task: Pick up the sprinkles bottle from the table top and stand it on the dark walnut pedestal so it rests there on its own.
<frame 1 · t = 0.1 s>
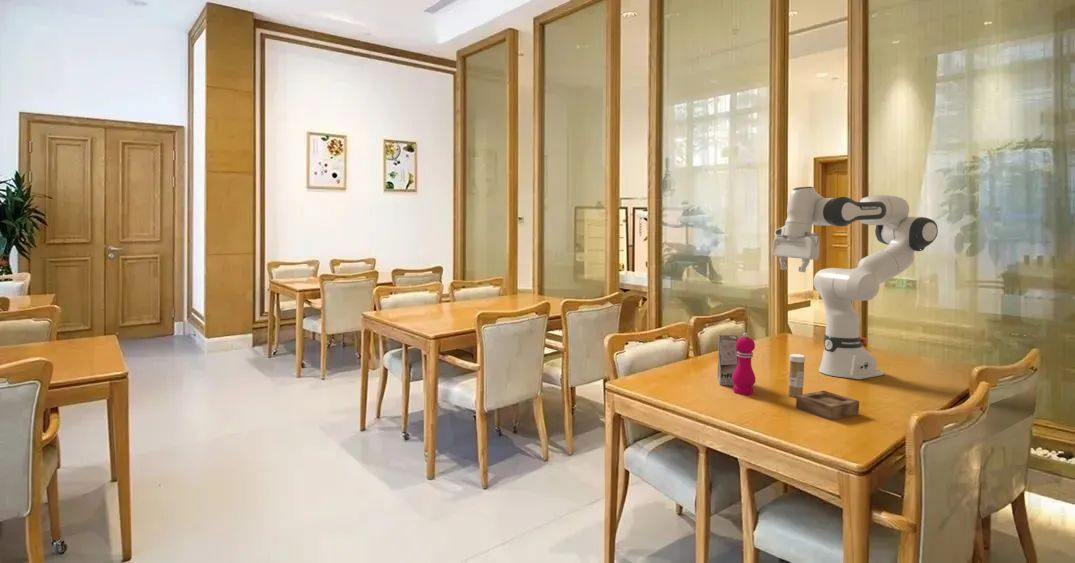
hand: (792, 270, 214), 39 cm above the table, tool pointing down, fingers open, 8 cm apart
coffee box: (727, 382, 211), on the table
pepper mill: (743, 392, 199), on the table
sprinkles bottle: (795, 396, 195), on the table
walnut pedestal: (826, 411, 179), on the table
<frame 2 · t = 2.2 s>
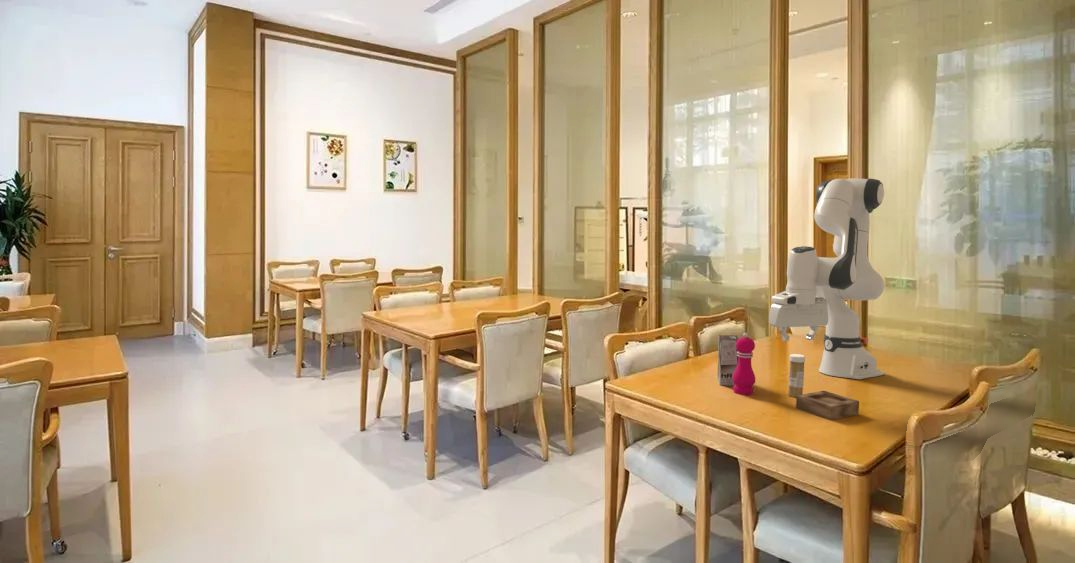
hand: (797, 340, 193), 18 cm above the table, tool pointing down, fingers open, 8 cm apart
nothing on the table moved.
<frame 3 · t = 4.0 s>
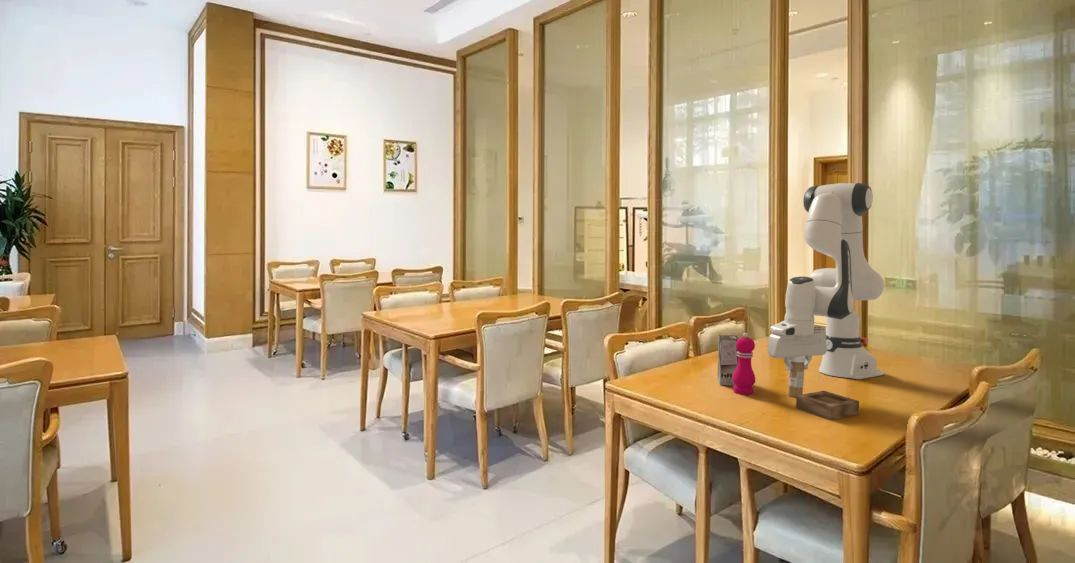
hand: (796, 369, 194), 9 cm above the table, tool pointing down, fingers closed on sprinkles bottle, 4 cm apart
sprinkles bottle: (795, 396, 195), on the table, touching gripper
everything else where it was.
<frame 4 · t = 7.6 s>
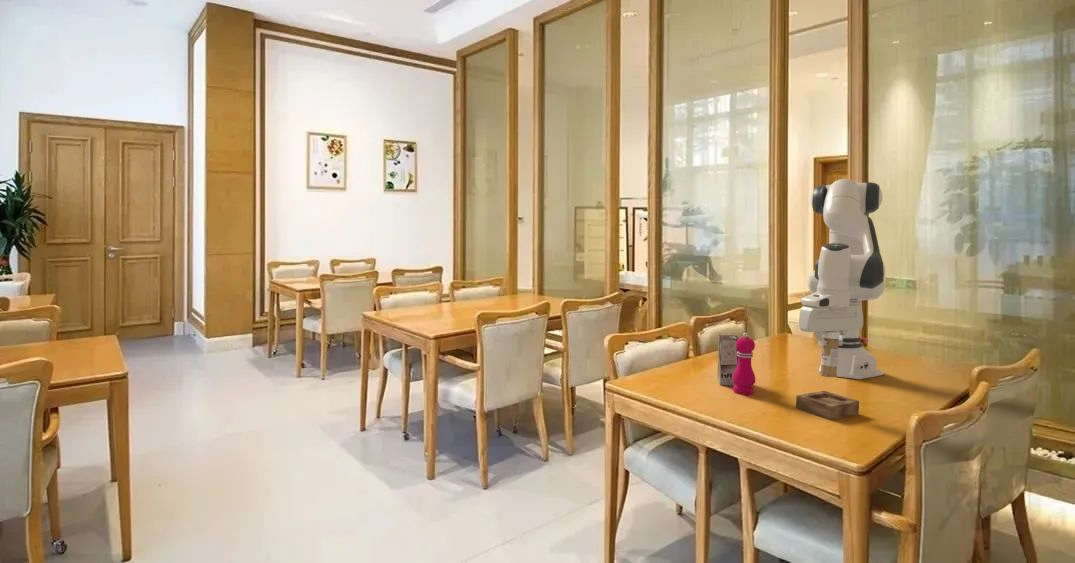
hand: (830, 345, 177), 20 cm above the table, tool pointing down, fingers closed on sprinkles bottle, 4 cm apart
sprinkles bottle: (828, 376, 178), point 11 cm above the table, touching gripper
everything else where it was.
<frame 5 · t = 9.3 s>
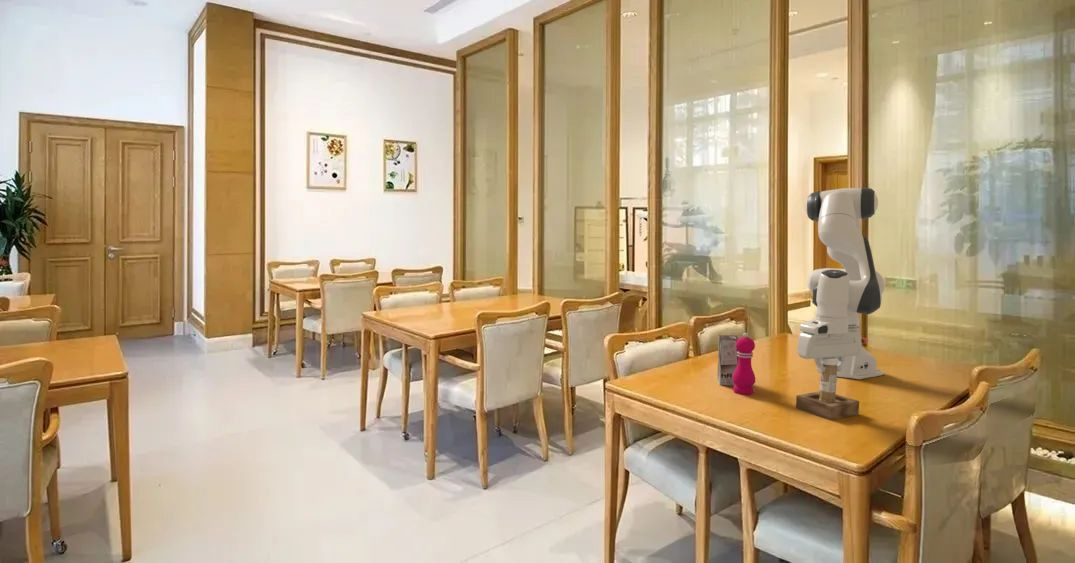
hand: (828, 371, 178), 12 cm above the table, tool pointing down, fingers closed on sprinkles bottle, 4 cm apart
sprinkles bottle: (827, 402, 179), point 3 cm above the table, touching gripper, walnut pedestal
everything else where it was.
when the fingers open (12 cm above the table, at t = 9.9 s): sprinkles bottle stays where it is, resting on walnut pedestal.
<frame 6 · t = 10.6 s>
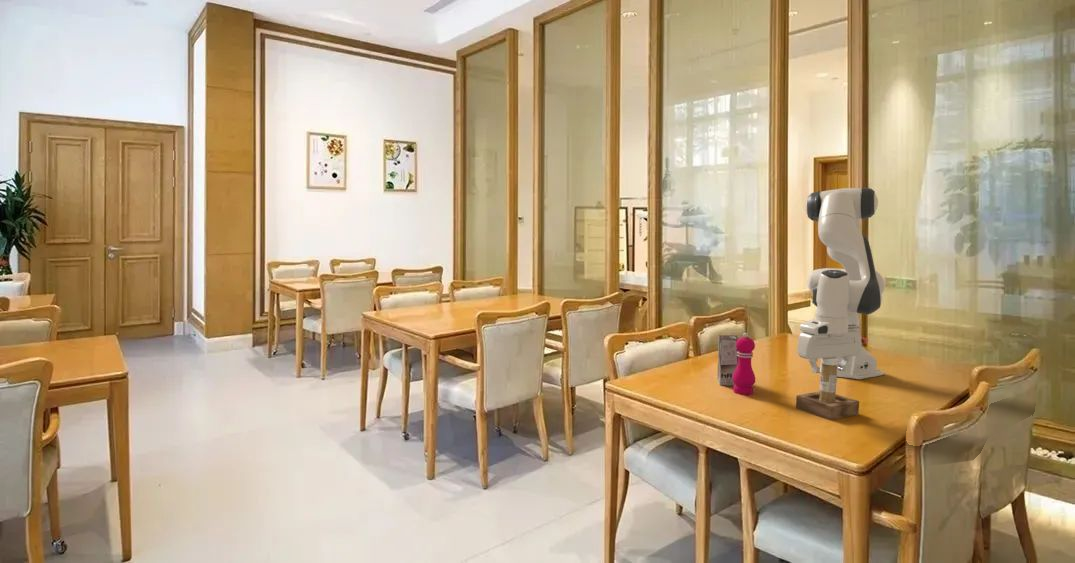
hand: (828, 371, 178), 12 cm above the table, tool pointing down, fingers open, 8 cm apart
sprinkles bottle: (827, 402, 179), point 3 cm above the table, touching walnut pedestal
everything else where it was.
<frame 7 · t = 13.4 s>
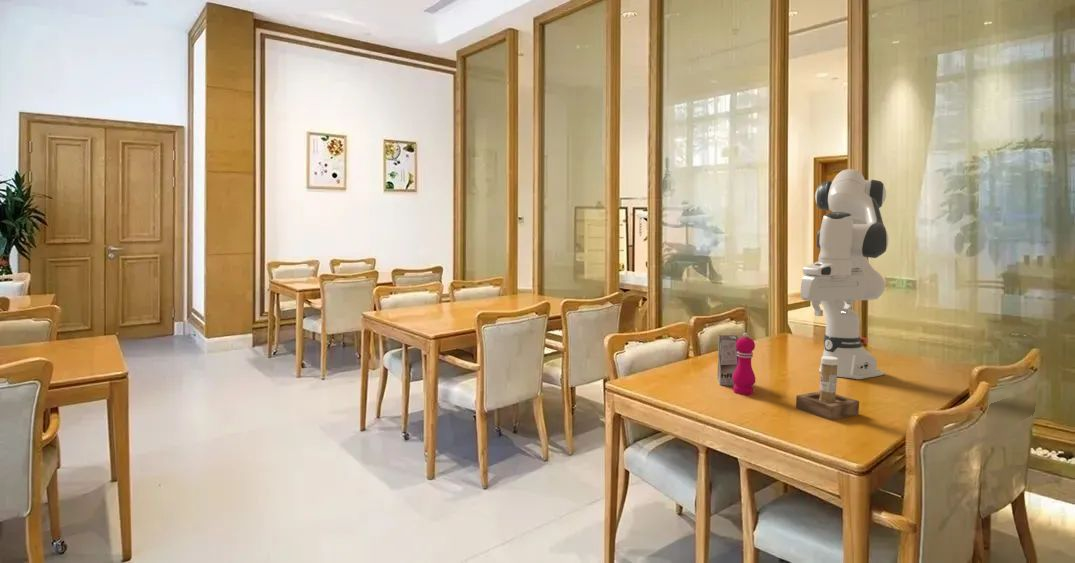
hand: (832, 315, 176), 29 cm above the table, tool pointing down, fingers open, 8 cm apart
nothing on the table moved.
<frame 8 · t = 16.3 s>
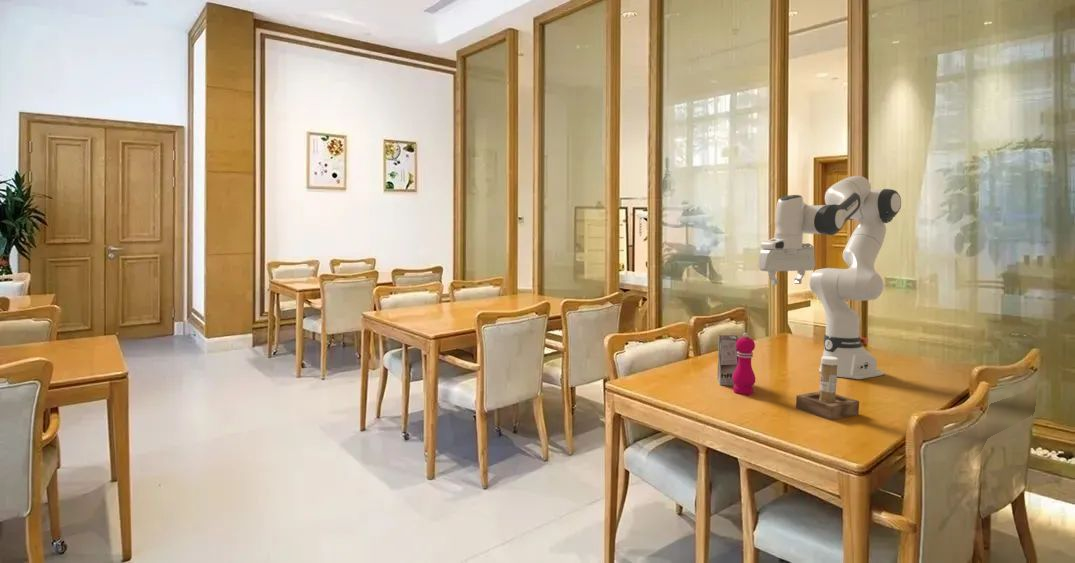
hand: (786, 284, 204), 35 cm above the table, tool pointing down, fingers open, 8 cm apart
nothing on the table moved.
at the end: sprinkles bottle 0.0 cm from the walnut pedestal (horizontally); sprinkles bottle point 2.8 cm above the table; sprinkles bottle tilted 0° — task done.
